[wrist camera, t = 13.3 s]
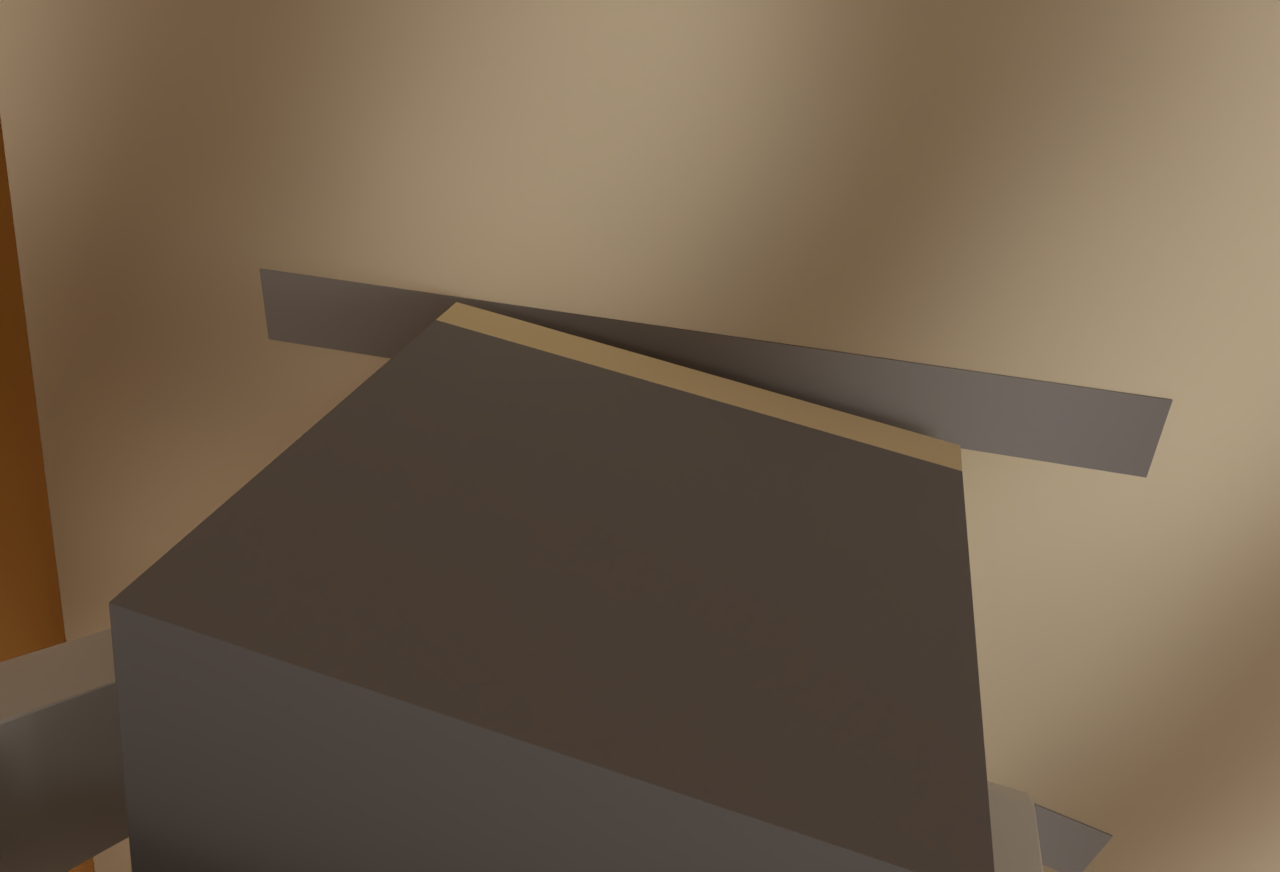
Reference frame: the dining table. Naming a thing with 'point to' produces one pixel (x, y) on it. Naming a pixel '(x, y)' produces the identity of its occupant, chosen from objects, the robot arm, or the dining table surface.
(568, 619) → the block
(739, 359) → the board
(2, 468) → the dining table surface
